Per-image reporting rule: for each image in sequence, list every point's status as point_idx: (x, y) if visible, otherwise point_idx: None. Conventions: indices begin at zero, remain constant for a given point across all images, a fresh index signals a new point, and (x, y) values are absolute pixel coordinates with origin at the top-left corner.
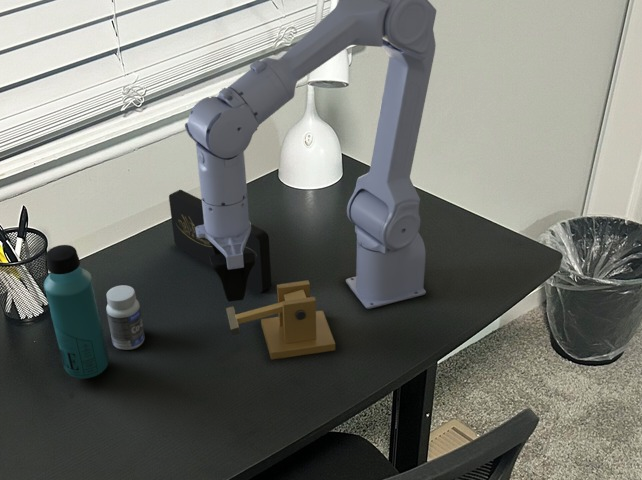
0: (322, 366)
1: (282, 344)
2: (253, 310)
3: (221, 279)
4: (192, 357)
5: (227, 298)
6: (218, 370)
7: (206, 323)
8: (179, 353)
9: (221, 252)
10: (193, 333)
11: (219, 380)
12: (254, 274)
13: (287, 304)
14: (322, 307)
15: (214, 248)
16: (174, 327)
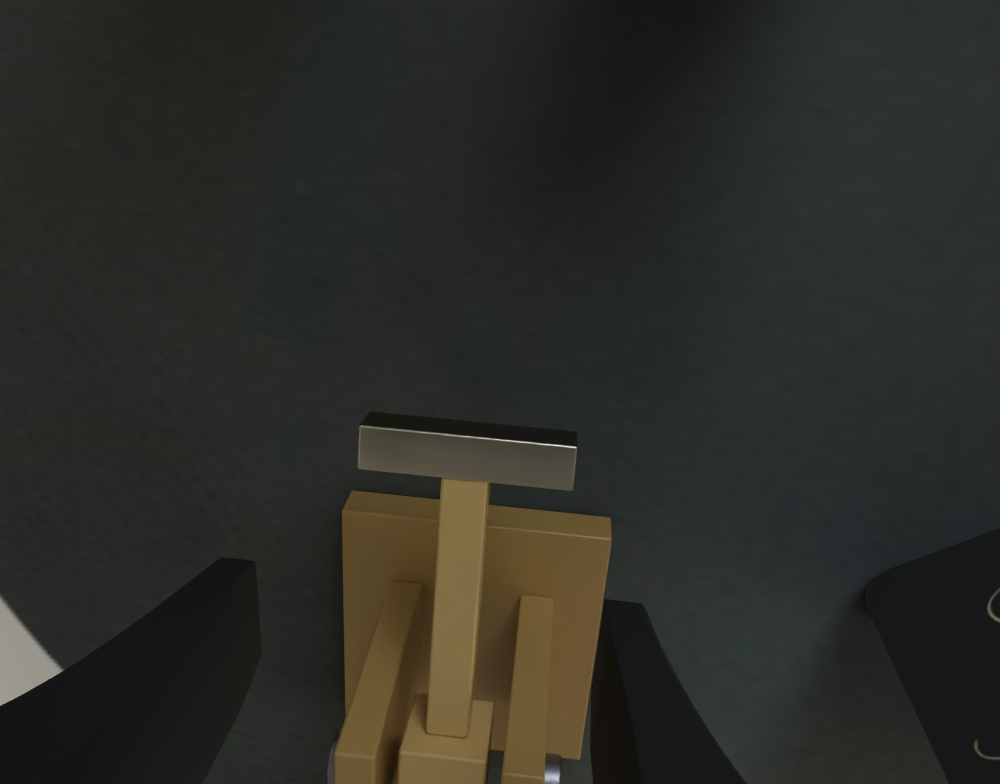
0: (269, 642)
1: (390, 568)
2: (469, 579)
3: (2, 709)
4: (466, 143)
5: (200, 573)
6: (327, 253)
7: (742, 278)
8: (523, 75)
9: (622, 780)
10: (679, 190)
11: (250, 242)
12: (945, 630)
13: (336, 769)
14: None
15: (636, 781)
16: (785, 89)
